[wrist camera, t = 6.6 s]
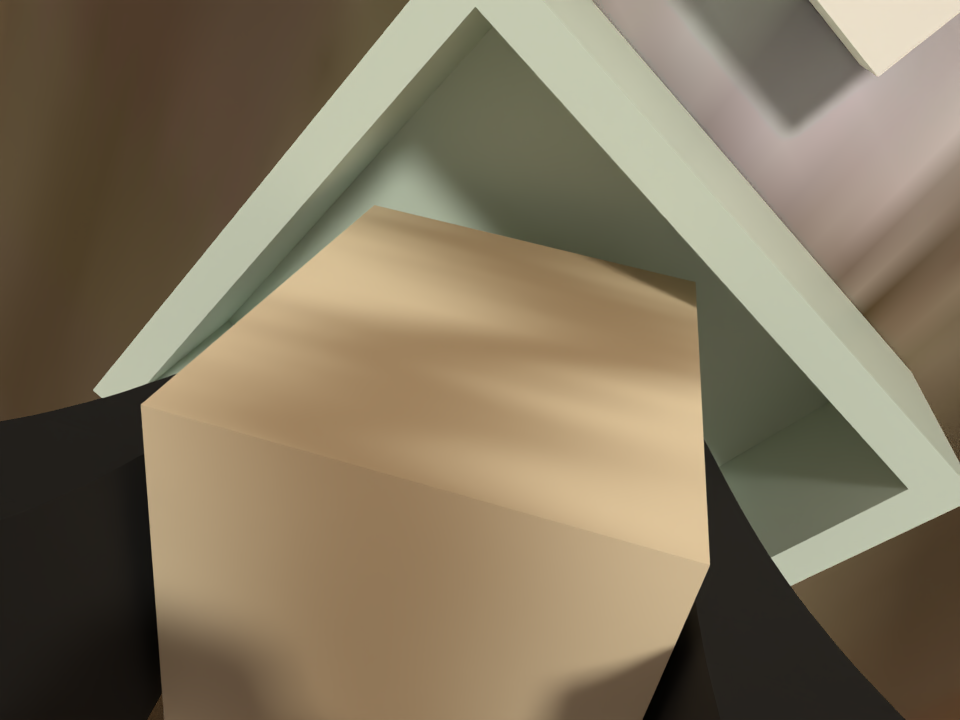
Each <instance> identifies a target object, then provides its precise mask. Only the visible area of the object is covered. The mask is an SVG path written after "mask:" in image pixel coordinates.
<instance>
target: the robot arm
mask: <svg viewBox="0 0 960 720" xmlns="http://www.w3.org/2000/svg"><path fill="white" fill-rule="evenodd" d="M175 375H176V374H174V375H171V376H168V377H165V378H162V379H159V380H157V381H154V382H151V383H148V384H145V385H142V386H139V387H136V388H133V389H130V390H127V391H124V392H121V393H118V394H115V395H111V396H108V397H104V398H101V399H97V400H94V401H90V402H86V403H82V404H78V405H74V406H71V407H67V408H63V409H59V410H55V411H51V412H46V413H42V414H37V415H33V416H27V417H22V418H17V419H11V420H6V421H0V720H147V719H148V717H149V715H150V713H151V712H152V710H153V708H154V706H155V704H156V703H157V701H158V699H159V697H160V696H161V694H162V684H161V671H160V657H159V644H158V630H157V617H156V604H155V590H154V577H153V563H152V550H151V536H150V523H149V509H148V496H147V483H146V469H145V456H144V442H143V429H142V415H141V404H142V403H143V402H144V401H146V400H147V399H148V398H149V397H150V396H152V395H153V394H154V393H155V392H156V391H157V390H159V389H160V388H161V387H162V386H163V385H164V384H166V383H167V382H168V381H169V380H170V379H171V378H173V377H174V376H175ZM704 457H705V476H706V496H707V515H708V535H709V554H710V566H709V569H708V571H707V573H706V576H705V578H704V580H703V582H702V585H701V587H700V589H699V592H698V594H697V596H696V598H695V601H694V603H693V605H692V608H691V610H690V612H689V614H688V617H687V619H686V621H685V624H684V626H683V628H682V630H681V633H680V635H679V637H678V640H677V642H676V644H675V646H674V649H673V651H672V653H671V656H670V658H669V660H668V662H667V665H666V667H665V669H664V672H663V674H662V676H661V678H660V681H659V683H658V685H657V688H656V690H655V692H654V694H653V697H652V699H651V701H650V704H649V706H648V708H647V710H646V713H645V715H644V717H643V720H905V719H904V718H903V717H902V716H901V715H900V714H899V713H898V712H897V711H896V710H895V709H894V707H893V706H892V705H891V704H890V703H889V702H888V701H887V700H886V699H885V698H884V697H883V696H882V695H881V694H880V693H879V692H878V691H877V690H876V689H875V687H874V686H873V685H872V684H871V683H870V682H869V681H868V680H867V679H866V678H865V677H864V676H863V675H862V674H861V673H860V671H859V670H858V669H857V668H856V667H855V666H854V665H853V664H852V662H851V661H850V660H849V659H848V658H847V657H846V656H845V655H844V653H843V652H842V651H841V650H840V649H839V648H838V646H837V645H836V644H835V643H834V641H833V640H832V639H831V638H830V636H829V635H828V634H827V633H826V632H825V630H824V629H823V628H822V627H821V625H820V624H819V623H818V622H817V620H816V619H815V618H814V617H813V616H812V614H811V613H810V612H809V611H808V609H807V608H806V607H805V605H804V604H803V603H802V601H801V600H800V599H799V597H798V596H797V595H796V593H795V592H794V591H793V589H792V588H791V586H790V585H789V583H788V582H787V580H786V579H785V578H784V576H783V575H782V573H781V572H780V570H779V569H778V567H777V566H776V564H775V563H774V562H773V560H772V559H771V557H770V556H769V554H768V553H767V551H766V549H765V548H764V546H763V545H762V543H761V541H760V540H759V538H758V536H757V535H756V533H755V531H754V530H753V528H752V526H751V525H750V523H749V521H748V520H747V518H746V516H745V514H744V513H743V511H742V509H741V507H740V506H739V504H738V502H737V500H736V498H735V497H734V495H733V493H732V491H731V489H730V487H729V485H728V484H727V482H726V480H725V478H724V476H723V474H722V472H721V470H720V468H719V466H718V464H717V462H716V460H715V459H714V457H713V455H712V453H711V451H710V449H709V447H708V445H707V444H706V442H705V440H704Z"/></svg>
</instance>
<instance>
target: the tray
mask: <svg viewBox="0 0 960 720" xmlns="http://www.w3.org/2000/svg"><path fill="white" fill-rule="evenodd" d="M374 205H376V206H380V207H385V208H389V209H393V210H397V211H401V212H405V213H410V214H414V215H418V216H422V217H426V218H430V219H435V220H439V221H443V222H447V223H451V224H455V225H460V226H464V227H468V228H472V229H476V230H480V231H485V232H489V233H493V234H497V235H501V236H505V237H509V238H514V239H518V240H522V241H526V242H530V243H534V244H539V245H543V246H547V247H551V248H555V249H559V250H564V251H568V252H572V253H576V254H580V255H584V256H589V257H593V258H597V259H601V260H605V261H609V262H614V263H618V264H622V265H626V266H630V267H634V268H639V269H643V270H647V271H651V272H655V273H659V274H664V275H668V276H672V277H676V278H680V279H684V280H689V281H693V282H696V301H697V320H698V340H699V359H700V379H701V398H702V418H703V437H704V440H705V442H706V444H707V445H708V447H709V449H710V451H711V453H712V455H713V457H714V459H715V460H716V462H717V464H718V466H719V468H720V470H721V472H722V474H723V476H724V478H725V480H726V482H727V484H728V485H729V487H730V489H731V491H732V493H733V495H734V497H735V498H736V500H737V502H738V504H739V506H740V507H741V509H742V511H743V513H744V514H745V516H746V518H747V520H748V521H749V523H750V525H751V526H752V528H753V530H754V531H755V533H756V535H757V536H758V538H759V540H760V541H761V543H762V545H763V546H764V548H765V549H766V551H767V553H768V554H769V556H770V557H771V559H772V560H773V562H774V563H775V564H776V566H777V567H778V569H779V570H780V572H781V573H782V575H783V576H784V578H785V579H786V580H787V582H788V583H789V585H790V586H791V585H794V584H796V583H798V582H800V581H802V580H804V579H806V578H808V577H811V576H813V575H815V574H817V573H819V572H821V571H823V570H825V569H827V568H830V567H832V566H834V565H836V564H838V563H840V562H842V561H844V560H847V559H849V558H851V557H853V556H855V555H857V554H859V553H861V552H863V551H866V550H868V549H870V548H872V547H874V546H876V545H878V544H880V543H883V542H885V541H887V540H889V539H891V538H893V537H895V536H897V535H900V534H902V533H904V532H906V531H908V530H910V529H912V528H914V527H916V526H919V525H921V524H923V523H925V522H927V521H929V520H931V519H933V518H936V517H938V516H940V515H942V514H944V513H946V512H948V511H950V510H952V509H955V508H957V507H959V506H960V463H959V461H958V459H957V457H956V455H955V453H954V451H953V449H952V448H951V446H950V444H949V442H948V440H947V438H946V436H945V434H944V433H943V431H942V429H941V427H940V425H939V423H938V421H937V419H936V417H935V416H934V414H933V412H932V410H931V408H930V406H929V404H928V402H927V401H926V399H925V397H924V395H923V393H922V391H921V389H920V387H919V386H918V384H917V382H916V380H915V378H914V376H913V374H912V372H911V371H910V370H909V369H908V368H907V367H906V365H905V364H904V363H903V362H902V361H901V360H900V358H899V357H898V356H897V355H896V354H895V353H894V351H893V350H892V349H891V348H890V347H889V346H888V344H887V343H886V342H885V341H884V340H883V339H882V337H881V336H880V335H879V334H878V333H877V332H876V330H875V329H874V328H873V327H872V326H871V325H870V323H869V322H868V321H867V320H866V319H865V318H864V317H863V315H862V314H861V313H860V312H859V311H858V310H857V308H856V307H855V306H854V305H853V304H852V303H851V301H850V300H849V299H848V298H847V297H846V296H845V294H844V293H843V292H842V291H841V290H840V289H839V287H838V286H837V285H836V284H835V283H834V282H833V280H832V279H831V278H830V277H829V276H828V275H827V273H826V272H825V271H824V270H823V269H822V268H821V267H820V265H819V264H818V263H817V262H816V261H815V260H814V258H813V257H812V256H811V255H810V254H809V253H808V251H807V250H806V249H805V248H804V247H803V246H802V244H801V243H800V242H799V241H798V240H797V239H796V237H795V236H794V235H793V234H792V233H791V232H790V230H789V229H788V228H787V227H786V226H785V225H784V223H783V222H782V221H781V220H780V219H779V218H778V216H777V215H776V214H775V213H774V212H773V211H772V210H771V208H770V207H769V206H768V205H767V204H766V203H765V201H764V200H763V199H762V198H761V197H760V196H759V194H758V193H757V192H756V191H755V190H754V189H753V187H752V186H751V185H750V184H749V183H748V182H747V180H746V179H745V178H744V177H743V176H742V175H741V173H740V172H739V171H738V170H737V169H736V168H735V166H734V165H733V164H732V163H731V162H730V161H729V159H728V158H727V157H726V156H725V155H724V154H723V153H722V151H721V150H720V149H719V148H718V147H717V146H716V144H715V143H714V142H713V141H712V140H711V139H710V137H709V136H708V135H707V134H706V133H705V132H704V130H703V129H702V128H701V127H700V126H699V125H698V123H697V122H696V121H695V120H694V119H693V118H692V116H691V115H690V114H689V113H688V112H687V111H686V109H685V108H684V107H683V106H682V105H681V104H680V103H679V101H678V100H677V99H676V98H675V97H674V96H673V94H672V93H671V92H670V91H669V90H668V89H667V87H666V86H665V85H664V84H663V83H662V82H661V80H660V79H659V78H658V77H657V76H656V75H655V73H654V72H653V71H652V70H651V69H650V68H649V66H648V65H647V64H646V63H645V62H644V61H643V59H642V58H641V57H640V56H639V55H638V54H637V52H636V51H635V50H634V49H633V48H632V47H631V46H630V44H629V43H628V42H627V41H626V40H625V39H624V37H623V36H622V35H621V34H620V33H619V32H618V30H617V29H616V28H615V27H614V26H613V25H612V23H611V22H610V21H609V20H608V19H607V18H606V16H605V15H604V14H603V13H602V12H601V11H600V9H599V8H598V7H597V6H596V5H595V4H594V2H593V1H592V0H410V1H409V2H408V3H407V5H406V6H405V7H404V8H403V10H402V11H401V12H400V13H399V15H398V16H397V17H396V18H395V19H394V21H393V22H392V23H391V24H390V26H389V27H388V28H387V29H386V31H385V32H384V33H383V34H382V35H381V37H380V38H379V39H378V40H377V42H376V43H375V44H374V45H373V46H372V48H371V49H370V50H369V51H368V53H367V54H366V55H365V56H364V58H363V59H362V60H361V61H360V62H359V64H358V65H357V66H356V67H355V69H354V70H353V71H352V72H351V74H350V75H349V76H348V77H347V78H346V80H345V81H344V82H343V83H342V85H341V86H340V87H339V88H338V90H337V91H336V92H335V93H334V94H333V96H332V97H331V98H330V99H329V101H328V102H327V103H326V104H325V106H324V107H323V108H322V109H321V110H320V112H319V113H318V114H317V115H316V117H315V118H314V119H313V120H312V122H311V123H310V124H309V125H308V126H307V128H306V129H305V130H304V131H303V133H302V134H301V135H300V136H299V137H298V139H297V140H296V141H295V142H294V144H293V145H292V146H291V147H290V149H289V150H288V151H287V152H286V153H285V155H284V156H283V157H282V158H281V160H280V161H279V162H278V163H277V165H276V166H275V167H274V168H273V169H272V171H271V172H270V173H269V174H268V176H267V177H266V178H265V179H264V181H263V182H262V183H261V184H260V185H259V187H258V188H257V189H256V190H255V192H254V193H253V194H252V195H251V197H250V198H249V199H248V200H247V201H246V203H245V204H244V205H243V206H242V208H241V209H240V210H239V211H238V212H237V214H236V215H235V216H234V217H233V219H232V220H231V221H230V222H229V224H228V225H227V226H226V227H225V228H224V230H223V231H222V232H221V233H220V235H219V236H218V237H217V238H216V240H215V241H214V242H213V243H212V244H211V246H210V247H209V248H208V249H207V251H206V252H205V253H204V254H203V256H202V257H201V258H200V259H199V260H198V262H197V263H196V264H195V265H194V267H193V268H192V269H191V270H190V272H189V273H188V274H187V275H186V276H185V278H184V279H183V280H182V281H181V283H180V284H179V285H178V286H177V287H176V289H175V290H174V291H173V292H172V294H171V295H170V296H169V297H168V299H167V300H166V301H165V302H164V303H163V305H162V306H161V307H160V308H159V310H158V311H157V312H156V313H155V315H154V316H153V317H152V318H151V319H150V321H149V322H148V323H147V324H146V326H145V327H144V328H143V329H142V331H141V332H140V333H139V334H138V335H137V337H136V338H135V339H134V340H133V342H132V343H131V344H130V345H129V347H128V348H127V349H126V350H125V351H124V353H123V354H122V355H121V356H120V358H119V359H118V360H117V361H116V363H115V364H114V365H113V366H112V367H111V369H110V370H109V371H108V372H107V374H106V375H105V376H104V377H103V378H102V380H101V381H100V382H99V383H98V385H97V386H96V387H95V388H94V390H93V391H94V392H96V393H97V394H98V395H99V396H100V397H101V398H104V397H108V396H111V395H115V394H118V393H121V392H124V391H127V390H130V389H133V388H136V387H139V386H142V385H145V384H148V383H151V382H154V381H157V380H159V379H162V378H165V377H168V376H171V375H174V374H177V373H178V372H180V371H181V370H182V369H183V368H184V367H185V366H187V365H188V364H189V363H190V362H191V361H192V360H194V359H195V358H196V357H197V356H198V355H199V354H201V353H202V352H203V351H204V350H205V349H206V348H208V347H209V346H210V345H211V344H212V343H214V342H215V341H216V340H217V339H218V338H219V337H221V336H222V335H223V334H224V333H225V332H226V331H228V330H229V329H230V328H231V327H232V326H233V325H235V324H236V323H237V322H238V321H239V320H240V319H242V318H243V317H244V316H245V315H246V314H247V313H249V312H250V311H251V310H252V309H253V308H254V307H256V306H257V305H258V304H259V303H260V302H261V301H263V300H264V299H265V298H266V297H267V296H268V295H270V294H271V293H272V292H273V291H274V290H276V289H277V288H278V287H279V286H280V285H281V284H283V283H284V282H285V281H286V280H287V279H288V278H290V277H291V276H292V275H293V274H294V273H295V272H297V271H298V270H299V269H300V268H301V267H302V266H304V265H305V264H306V263H307V262H308V261H309V260H311V259H312V258H313V257H314V256H315V255H316V254H318V253H319V252H320V251H321V250H322V249H323V248H325V247H326V246H327V245H328V244H329V243H330V242H332V241H333V240H334V239H335V238H336V237H338V236H339V235H340V234H341V233H342V232H343V231H345V230H346V229H347V228H348V227H349V226H350V225H352V224H353V223H354V222H355V221H356V220H357V219H359V218H360V217H361V216H362V215H363V214H364V213H366V212H367V211H368V210H369V209H370V208H371V207H373V206H374Z"/></svg>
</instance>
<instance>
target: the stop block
mask: <svg viewBox="0 0 960 720" xmlns="http://www.w3.org/2000/svg"><path fill="white" fill-rule="evenodd" d="M141 415H142V429H143V442H144V456H145V469H146V483H147V496H148V509H149V523H150V536H151V550H152V563H153V577H154V590H155V604H156V617H157V630H158V644H159V657H160V671H161V684H162V698H163V711H164V720H643V717H644V715H645V713H646V710H647V708H648V706H649V704H650V701H651V699H652V697H653V694H654V692H655V690H656V688H657V685H658V683H659V681H660V678H661V676H662V674H663V672H664V669H665V667H666V665H667V662H668V660H669V658H670V656H671V653H672V651H673V649H674V646H675V644H676V642H677V640H678V637H679V635H680V633H681V630H682V628H683V626H684V624H685V621H686V619H687V617H688V614H689V612H690V610H691V608H692V605H693V603H694V601H695V598H696V596H697V594H698V592H699V589H700V587H701V585H702V582H703V580H704V578H705V576H706V573H707V571H708V569H709V566H710V554H709V535H708V515H707V496H706V476H705V457H704V437H703V418H702V398H701V379H700V359H699V340H698V320H697V301H696V282H693V281H689V280H684V279H680V278H676V277H672V276H668V275H664V274H659V273H655V272H651V271H647V270H643V269H639V268H634V267H630V266H626V265H622V264H618V263H614V262H609V261H605V260H601V259H597V258H593V257H589V256H584V255H580V254H576V253H572V252H568V251H564V250H559V249H555V248H551V247H547V246H543V245H539V244H534V243H530V242H526V241H522V240H518V239H514V238H509V237H505V236H501V235H497V234H493V233H489V232H485V231H480V230H476V229H472V228H468V227H464V226H460V225H455V224H451V223H447V222H443V221H439V220H435V219H430V218H426V217H422V216H418V215H414V214H410V213H405V212H401V211H397V210H393V209H389V208H385V207H380V206H376V205H374V206H373V207H371V208H370V209H369V210H368V211H367V212H366V213H364V214H363V215H362V216H361V217H360V218H359V219H357V220H356V221H355V222H354V223H353V224H352V225H350V226H349V227H348V228H347V229H346V230H345V231H343V232H342V233H341V234H340V235H339V236H338V237H336V238H335V239H334V240H333V241H332V242H330V243H329V244H328V245H327V246H326V247H325V248H323V249H322V250H321V251H320V252H319V253H318V254H316V255H315V256H314V257H313V258H312V259H311V260H309V261H308V262H307V263H306V264H305V265H304V266H302V267H301V268H300V269H299V270H298V271H297V272H295V273H294V274H293V275H292V276H291V277H290V278H288V279H287V280H286V281H285V282H284V283H283V284H281V285H280V286H279V287H278V288H277V289H276V290H274V291H273V292H272V293H271V294H270V295H268V296H267V297H266V298H265V299H264V300H263V301H261V302H260V303H259V304H258V305H257V306H256V307H254V308H253V309H252V310H251V311H250V312H249V313H247V314H246V315H245V316H244V317H243V318H242V319H240V320H239V321H238V322H237V323H236V324H235V325H233V326H232V327H231V328H230V329H229V330H228V331H226V332H225V333H224V334H223V335H222V336H221V337H219V338H218V339H217V340H216V341H215V342H214V343H212V344H211V345H210V346H209V347H208V348H206V349H205V350H204V351H203V352H202V353H201V354H199V355H198V356H197V357H196V358H195V359H194V360H192V361H191V362H190V363H189V364H188V365H187V366H185V367H184V368H183V369H182V370H181V371H180V372H178V373H177V374H176V375H175V376H174V377H173V378H171V379H170V380H169V381H168V382H167V383H166V384H164V385H163V386H162V387H161V388H160V389H159V390H157V391H156V392H155V393H154V394H153V395H152V396H150V397H149V398H148V399H147V400H146V401H144V402H143V403H142V404H141Z"/></svg>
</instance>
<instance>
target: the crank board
mask: <svg viewBox="0 0 960 720" xmlns="http://www.w3.org/2000/svg"><path fill="white" fill-rule="evenodd" d="M809 1H810V2H811V4H812V5H813V6H814V7H815V9H816V10H817V11H818V12H819V14H820V15H821V16H822V17H823V19H824V20H825V21H826V22H827V24H828V25H829V26H830V28H831V29H832V30H833V31H834V33H835V34H836V35H837V36H838V38H839V39H840V40H841V41H842V43H843V44H844V45H845V46H846V48H847V49H848V50H849V52H850V53H851V54H852V55H853V57H854V58H855V59H856V60H857V62H858V63H859V64H860V65H861V66H862V67H864V68H865V69H867V70H868V71H870V72H871V73H873V74H874V75H876V76H877V77H878V76H880V75H881V74H882V73H883V72H885V71H886V70H887V69H889V68H890V67H891V66H892V65H894V64H895V63H896V62H897V61H899V60H900V59H901V58H903V57H904V56H905V55H906V54H908V53H909V52H910V51H911V50H913V49H914V48H915V47H916V46H918V45H919V44H920V43H922V42H923V41H924V40H925V39H927V38H928V37H929V36H930V35H932V34H933V33H934V32H935V31H937V30H938V29H939V28H941V27H942V26H943V25H944V24H946V23H947V22H948V21H949V20H951V19H952V18H953V17H955V16H956V15H957V14H958V13H960V0H809Z"/></svg>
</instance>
